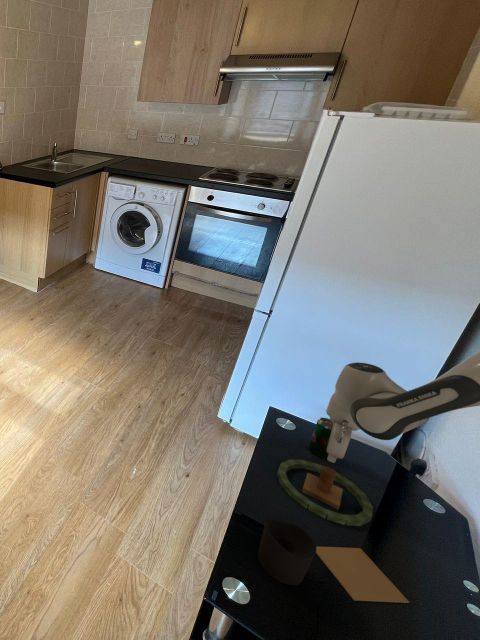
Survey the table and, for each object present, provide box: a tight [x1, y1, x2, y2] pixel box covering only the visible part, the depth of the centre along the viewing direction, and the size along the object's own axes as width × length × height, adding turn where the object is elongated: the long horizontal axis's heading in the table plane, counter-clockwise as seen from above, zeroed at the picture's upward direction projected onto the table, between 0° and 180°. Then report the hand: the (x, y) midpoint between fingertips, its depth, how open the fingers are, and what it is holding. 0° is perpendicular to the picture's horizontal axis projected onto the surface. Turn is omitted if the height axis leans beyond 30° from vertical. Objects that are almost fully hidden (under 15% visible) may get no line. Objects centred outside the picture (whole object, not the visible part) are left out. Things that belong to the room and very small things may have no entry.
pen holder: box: [257, 517, 317, 586], centre depth 94 cm, size 9×9×10 cm
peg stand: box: [301, 465, 344, 511], centre depth 115 cm, size 8×8×8 cm
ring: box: [276, 458, 374, 527], centre depth 116 cm, size 21×21×2 cm
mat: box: [315, 545, 410, 604], centre depth 95 cm, size 12×12×1 cm
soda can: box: [308, 417, 333, 458], centre depth 129 cm, size 5×5×12 cm
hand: (332, 452), depth 120 cm, fingers open, 8 cm apart
